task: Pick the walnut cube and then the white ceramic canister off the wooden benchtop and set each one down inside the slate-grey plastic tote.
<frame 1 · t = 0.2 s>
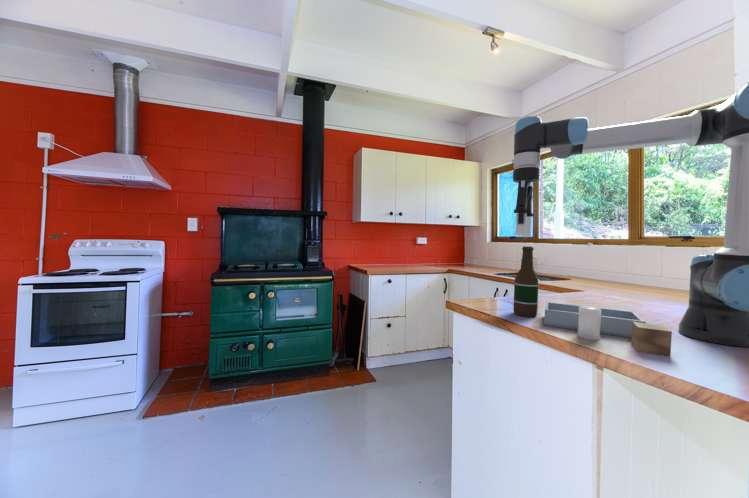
hand: (523, 235, 97), 28 cm above the counter, fingers open, 13 cm apart
beer bottle: (525, 315, 107), on the counter
tote: (588, 326, 94), on the counter
ceramic canister: (588, 337, 83), on the counter
walnut cube: (649, 350, 74), on the counter
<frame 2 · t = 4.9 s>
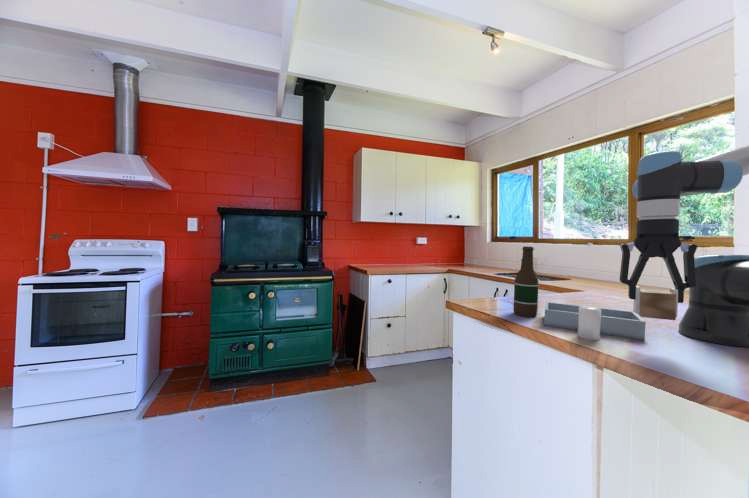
hand: (654, 314, 74), 9 cm above the counter, fingers closed on walnut cube, 6 cm apart
walnut cube: (654, 315, 74), point 8 cm above the counter, touching gripper
everything else where it was.
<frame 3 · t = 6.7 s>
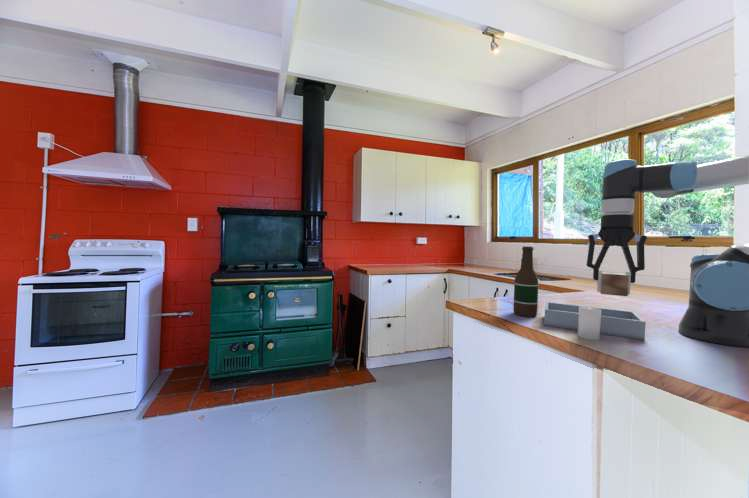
hand: (612, 292, 90), 11 cm above the counter, fingers closed on walnut cube, 6 cm apart
walnut cube: (612, 293, 90), point 11 cm above the counter, touching gripper
everything else where it was.
when the fingers open (1 cm above the counter, at t = 8.9 s): walnut cube stays where it is, resting on tote.
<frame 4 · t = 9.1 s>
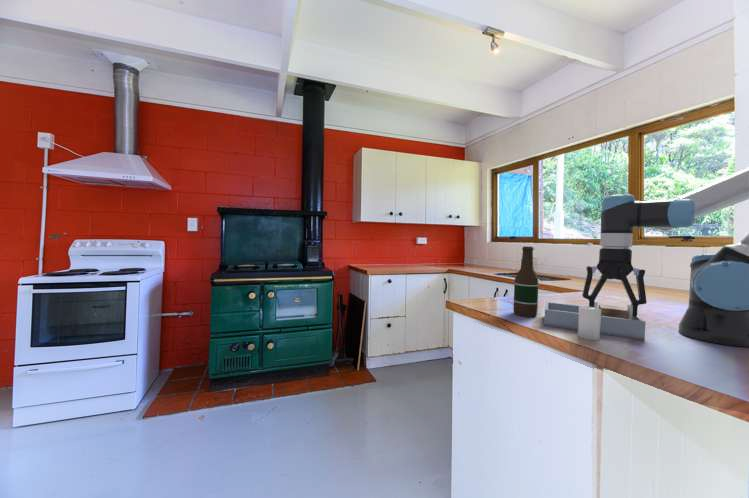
hand: (611, 324, 91), 2 cm above the counter, fingers open, 7 cm apart
walnut cube: (611, 327, 91), point 1 cm above the counter, touching tote
everything else where it was.
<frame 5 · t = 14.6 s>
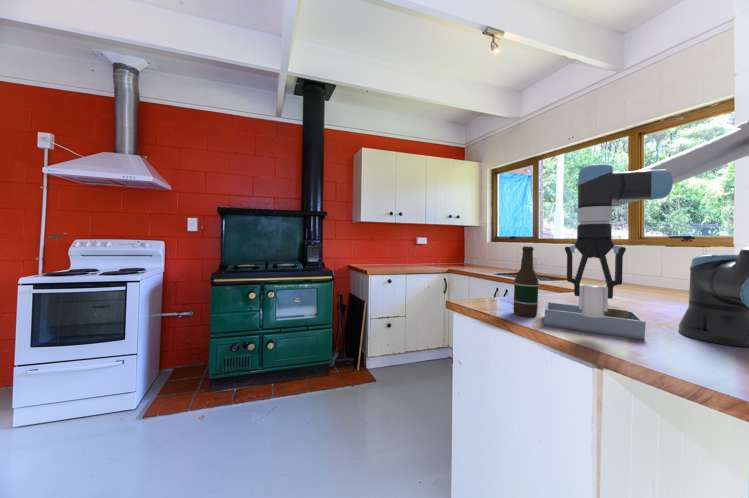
hand: (592, 309, 83), 8 cm above the counter, fingers closed on ceramic canister, 5 cm apart
ceramic canister: (592, 315, 83), point 6 cm above the counter, touching gripper
everything else where it was.
when the fingers open (2 cm above the counter, at t = 18.2 s): ceramic canister stays where it is, resting on tote.
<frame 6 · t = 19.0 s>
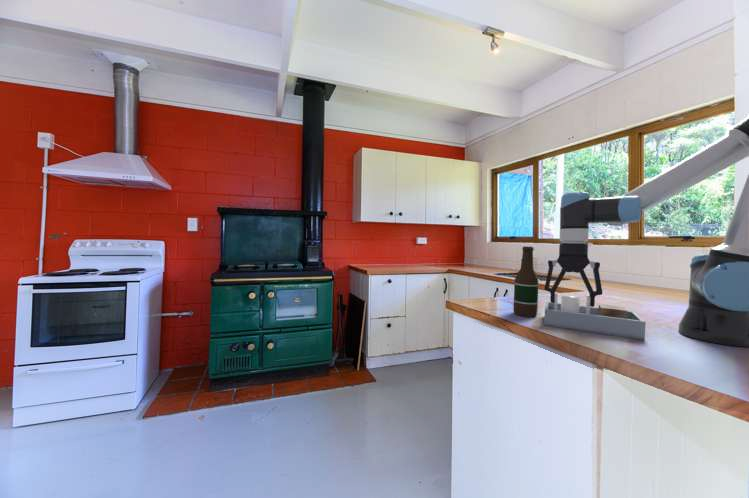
hand: (571, 314, 96), 3 cm above the counter, fingers open, 8 cm apart
ceramic canister: (569, 321, 96), point 1 cm above the counter, touching tote
everything else where it was.
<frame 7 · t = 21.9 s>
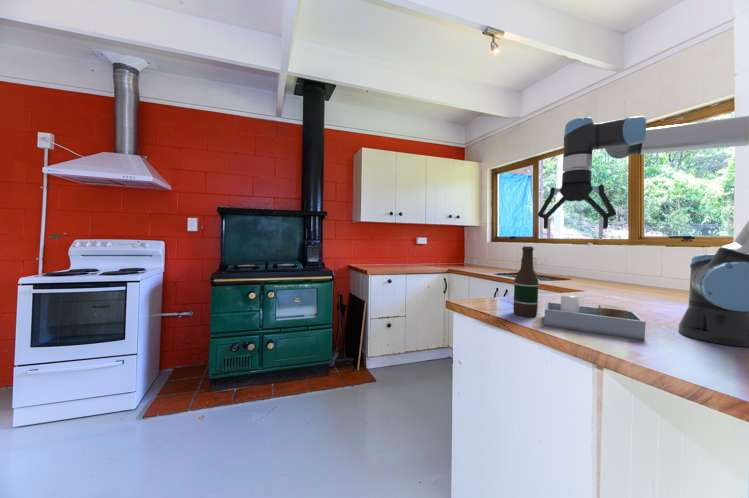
hand: (573, 239, 95), 27 cm above the counter, fingers open, 13 cm apart
nothing on the counter moved.
at the end: walnut cube inside the target area on the tote (5.5 cm from its centre), point 0.8 cm above the tote's base; ceramic canister inside the target area on the tote (5.0 cm from its centre), point 0.8 cm above the tote's base; the gripper is holding nothing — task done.
